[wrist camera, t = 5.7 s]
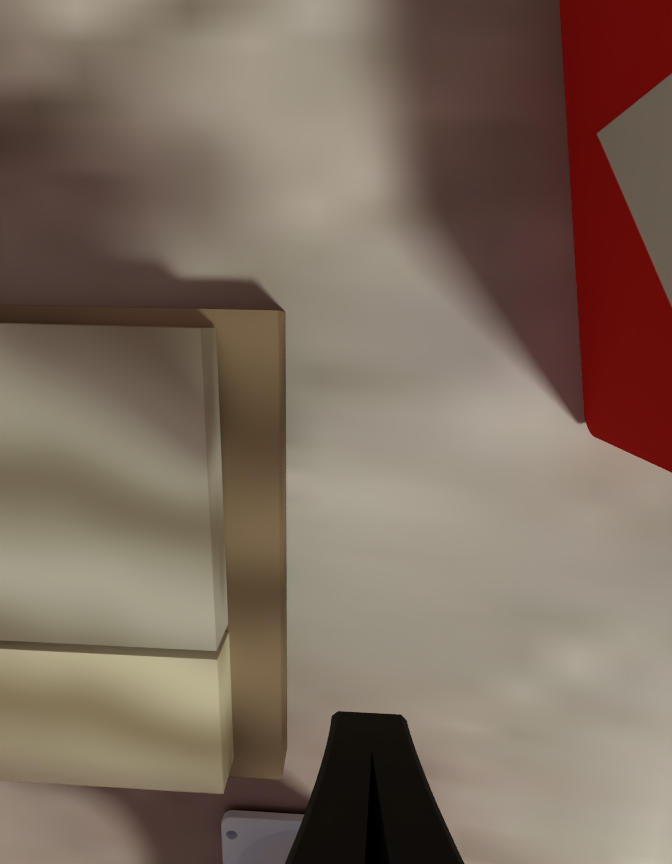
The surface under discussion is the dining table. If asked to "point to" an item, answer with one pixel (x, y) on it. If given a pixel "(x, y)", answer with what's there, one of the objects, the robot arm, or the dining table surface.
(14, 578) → the angled plank
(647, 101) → the play button
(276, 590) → the floor board
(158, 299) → the dining table surface
